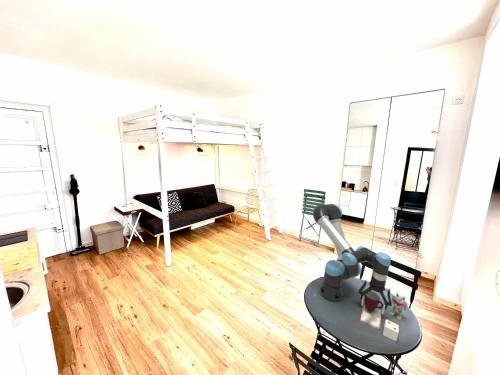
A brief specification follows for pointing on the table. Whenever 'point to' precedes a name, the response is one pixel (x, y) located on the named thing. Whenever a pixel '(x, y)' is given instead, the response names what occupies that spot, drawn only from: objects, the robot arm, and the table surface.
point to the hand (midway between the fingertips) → (372, 308)
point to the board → (371, 317)
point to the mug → (372, 301)
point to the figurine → (398, 305)
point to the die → (391, 330)
